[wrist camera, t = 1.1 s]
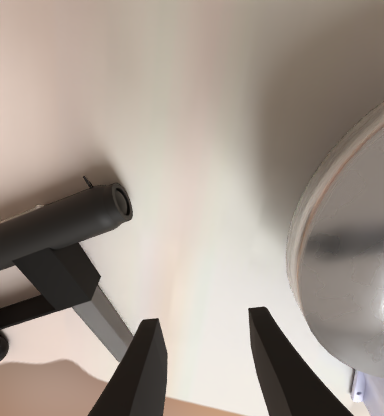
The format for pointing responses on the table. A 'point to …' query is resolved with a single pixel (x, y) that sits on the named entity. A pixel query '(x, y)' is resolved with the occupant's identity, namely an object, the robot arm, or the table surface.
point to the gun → (65, 261)
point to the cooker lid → (344, 248)
